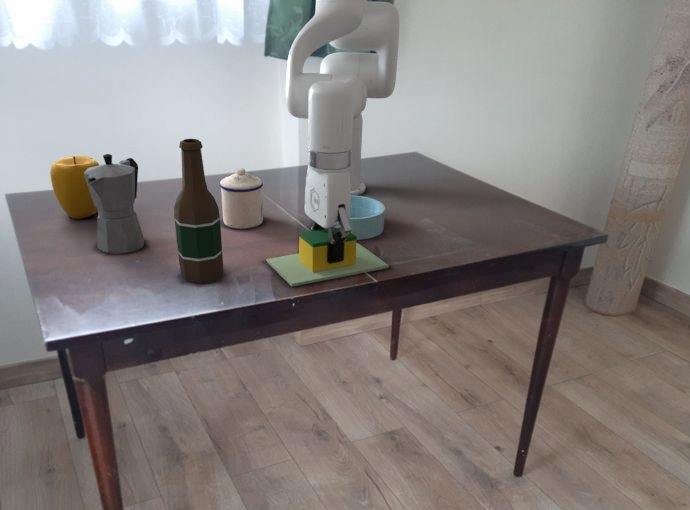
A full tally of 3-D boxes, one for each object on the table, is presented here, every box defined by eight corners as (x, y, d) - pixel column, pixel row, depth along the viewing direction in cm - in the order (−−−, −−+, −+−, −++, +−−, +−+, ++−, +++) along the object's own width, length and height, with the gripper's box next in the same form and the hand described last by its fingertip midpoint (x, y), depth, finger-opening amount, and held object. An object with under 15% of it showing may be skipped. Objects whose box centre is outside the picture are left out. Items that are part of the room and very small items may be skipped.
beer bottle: (182, 266, 118) (168, 134, 105) (224, 266, 119) (215, 134, 106) (178, 285, 111) (162, 146, 99) (222, 284, 112) (213, 146, 100)
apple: (111, 220, 138) (101, 161, 131) (58, 225, 135) (46, 165, 128) (107, 204, 147) (98, 148, 140) (58, 209, 144) (46, 152, 137)
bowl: (299, 231, 135) (299, 208, 132) (337, 212, 145) (338, 190, 143) (360, 247, 128) (361, 224, 125) (396, 226, 138) (397, 204, 136)
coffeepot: (123, 261, 120) (108, 165, 110) (81, 254, 122) (62, 160, 113) (164, 233, 132) (154, 145, 123) (125, 227, 135) (112, 141, 125)
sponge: (312, 272, 116) (312, 244, 113) (299, 260, 120) (299, 232, 117) (355, 264, 119) (356, 236, 116) (340, 252, 124) (341, 225, 121)
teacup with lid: (271, 224, 138) (270, 171, 132) (234, 232, 133) (231, 178, 127) (244, 209, 146) (242, 158, 140) (209, 216, 142) (205, 164, 135)
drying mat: (291, 286, 112) (291, 283, 111) (266, 261, 121) (266, 258, 120) (388, 268, 119) (388, 265, 119) (357, 245, 128) (358, 242, 128)
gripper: (289, 149, 115) (290, 242, 124) (332, 174, 102) (330, 276, 111) (326, 145, 118) (324, 237, 127) (373, 169, 104) (367, 269, 114)
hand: (327, 254), depth 119 cm, fingers closed on sponge, 5 cm apart
